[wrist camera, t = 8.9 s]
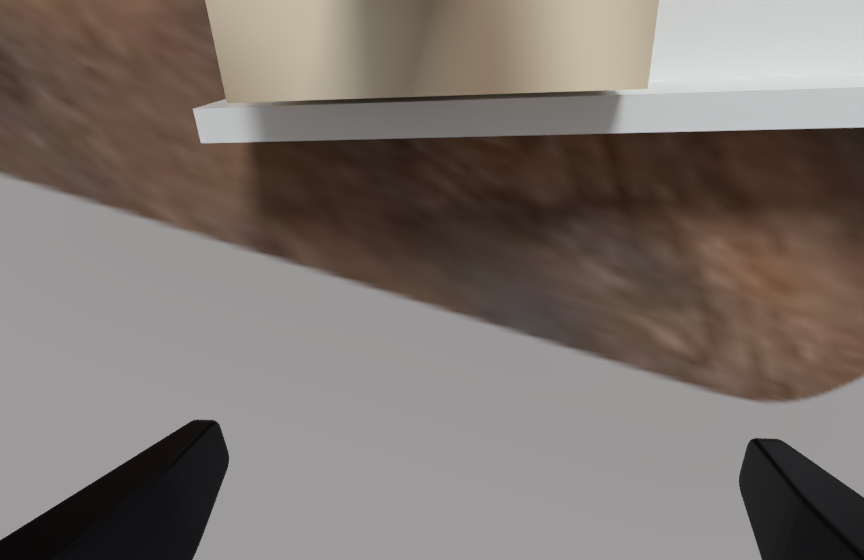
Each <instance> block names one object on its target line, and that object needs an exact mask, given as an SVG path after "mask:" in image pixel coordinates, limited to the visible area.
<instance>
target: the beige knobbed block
mask: <svg viewBox="0 0 864 560" xmlns="http://www.w3.org/2000/svg"><path fill="white" fill-rule="evenodd" d="M205 1H206V6H207V11H208V16H209V20H210V25H211V30H212V35H213V39H214V44H215V49H216V54H217V58H218V63H219V68H220V73H221V77H222V82H223V87H224V92H225V96H226V101H227V103H246V102H275V101H305V100H335V99H365V98H394V97H424V96H454V95H483V94H513V93H543V92H572V91H602V90H632V89H648V82H649V74H650V66H651V59H652V51H653V43H654V36H655V28H656V20H657V12H658V5H659V0H205Z"/></svg>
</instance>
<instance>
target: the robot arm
mask: <svg viewBox="0 0 864 560" xmlns="http://www.w3.org/2000/svg"><path fill="white" fill-rule="evenodd" d="M228 463H229V454H228V450H227V447H226V444H225V441H224V437H223V434H222V431H221V428H220V425H219V424H218V423H217V422H216V421H214V420H193V421H191V422H189V423H188V424H187V425H185V426H183V427H182V428H180V429H178V430H177V431H175V432H173V433H172V434H170V435H169V436H167V437H165V438H164V439H162V440H161V441H159V442H157V443H156V444H154V445H153V446H151V447H149V448H148V449H146V450H145V451H143V452H141V453H140V454H138V455H137V456H135V457H133V458H132V459H130V460H128V461H127V462H125V463H124V464H122V465H120V466H119V467H117V468H116V469H114V470H112V471H111V472H109V473H108V474H106V475H104V476H103V477H101V478H100V479H98V480H96V481H95V482H93V483H92V484H90V485H88V486H87V487H85V488H84V489H82V490H80V491H79V492H77V493H76V494H74V495H72V496H71V497H69V498H68V499H66V500H64V501H63V502H61V503H60V504H58V505H56V506H55V507H53V508H51V509H50V510H48V511H47V512H45V513H44V514H42V515H40V516H39V517H37V518H35V519H34V520H32V521H31V522H29V523H27V524H26V525H24V526H23V527H21V528H19V529H18V530H16V531H15V532H13V533H11V534H10V535H8V536H7V537H5V538H3V539H2V540H0V560H192V559H193V557H194V555H195V553H196V550H197V547H198V546H199V543H200V540H201V538H202V536H203V533H204V530H205V527H206V525H207V522H208V519H209V517H210V514H211V511H212V509H213V506H214V503H215V500H216V497H217V495H218V492H219V490H220V487H221V484H222V481H223V479H224V476H225V473H226V471H227V468H228ZM739 486H740V491H741V494H742V497H743V501H744V504H745V507H746V510H747V513H748V516H749V520H750V523H751V526H752V529H753V532H754V535H755V538H756V542H757V545H758V548H759V551H760V554H761V558H762V560H864V497H862V496H860V495H859V494H858V493H856V492H855V491H854V490H852V489H851V488H849V487H848V486H846V485H845V484H843V483H842V482H841V481H839V480H838V479H836V478H835V477H833V476H832V475H831V474H829V473H828V472H826V471H825V470H823V469H822V468H821V467H819V466H818V465H816V464H815V463H813V462H812V461H811V460H809V459H808V458H806V457H805V456H804V455H802V454H801V453H799V452H798V451H796V450H795V449H793V448H792V447H791V446H789V445H788V444H786V443H785V442H783V441H781V440H778V439H760V438H755V439H752V440H750V442H749V443H748V446H747V449H746V453H745V457H744V460H743V464H742V468H741V471H740V476H739Z"/></svg>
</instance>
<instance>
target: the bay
mask: <svg viewBox="0 0 864 560" xmlns="http://www.w3.org/2000/svg"><path fill="white" fill-rule="evenodd" d="M193 112H194V116H195V120H196V124H197V129H198V133H199V137H200V141H201V143H234V142H276V141H318V140H360V139H401V138H443V137H485V136H527V135H569V134H610V133H652V132H694V131H736V130H778V129H819V128H861V127H864V0H659V5H658V12H657V20H656V28H655V36H654V43H653V51H652V59H651V66H650V74H649V82H648V89H632V90H602V91H572V92H543V93H513V94H483V95H454V96H424V97H394V98H365V99H335V100H305V101H275V102H246V103H227V101H226V99H224V100H221V101H217V102H214V103H211V104H207V105H204V106H201V107H197V108H194V109H193Z"/></svg>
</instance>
